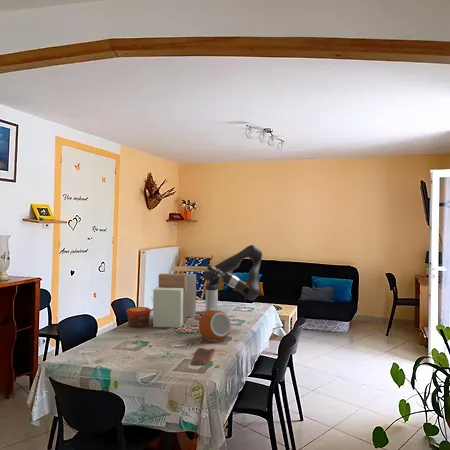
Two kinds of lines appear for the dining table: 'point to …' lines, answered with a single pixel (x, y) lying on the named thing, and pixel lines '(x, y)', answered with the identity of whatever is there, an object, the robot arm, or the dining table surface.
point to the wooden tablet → (202, 357)
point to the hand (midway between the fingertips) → (208, 266)
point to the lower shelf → (167, 307)
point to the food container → (138, 317)
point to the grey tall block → (191, 295)
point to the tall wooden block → (175, 286)
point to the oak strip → (190, 268)
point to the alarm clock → (214, 325)
